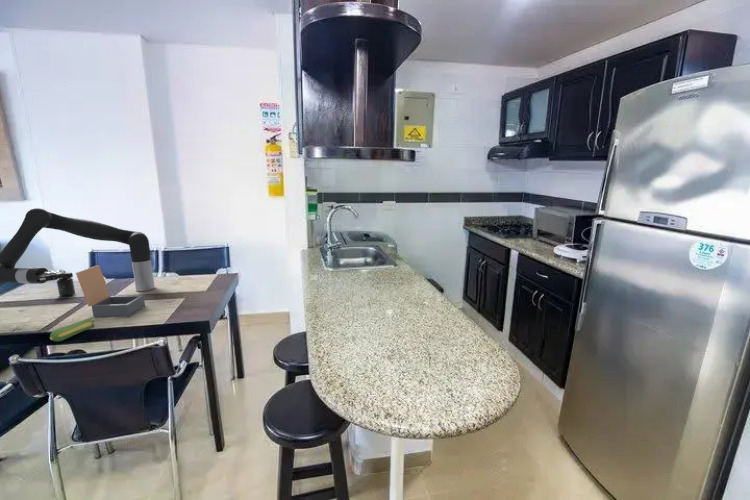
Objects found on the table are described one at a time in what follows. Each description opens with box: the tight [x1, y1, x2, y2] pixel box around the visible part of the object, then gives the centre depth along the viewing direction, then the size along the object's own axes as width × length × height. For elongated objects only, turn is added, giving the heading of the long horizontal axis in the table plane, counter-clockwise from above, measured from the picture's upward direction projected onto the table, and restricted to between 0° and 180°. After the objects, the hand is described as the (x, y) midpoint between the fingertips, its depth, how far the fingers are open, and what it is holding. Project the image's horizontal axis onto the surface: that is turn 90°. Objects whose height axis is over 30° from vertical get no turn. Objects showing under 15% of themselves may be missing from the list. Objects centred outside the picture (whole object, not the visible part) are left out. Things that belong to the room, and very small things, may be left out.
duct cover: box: [75, 264, 111, 307], centre depth 167 cm, size 14×16×1 cm
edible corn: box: [49, 316, 96, 343], centre depth 149 cm, size 5×20×5 cm
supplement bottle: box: [56, 277, 76, 298], centre depth 193 cm, size 7×7×12 cm
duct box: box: [91, 294, 146, 319], centre depth 170 cm, size 13×16×6 cm
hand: (71, 275), depth 166 cm, fingers closed
